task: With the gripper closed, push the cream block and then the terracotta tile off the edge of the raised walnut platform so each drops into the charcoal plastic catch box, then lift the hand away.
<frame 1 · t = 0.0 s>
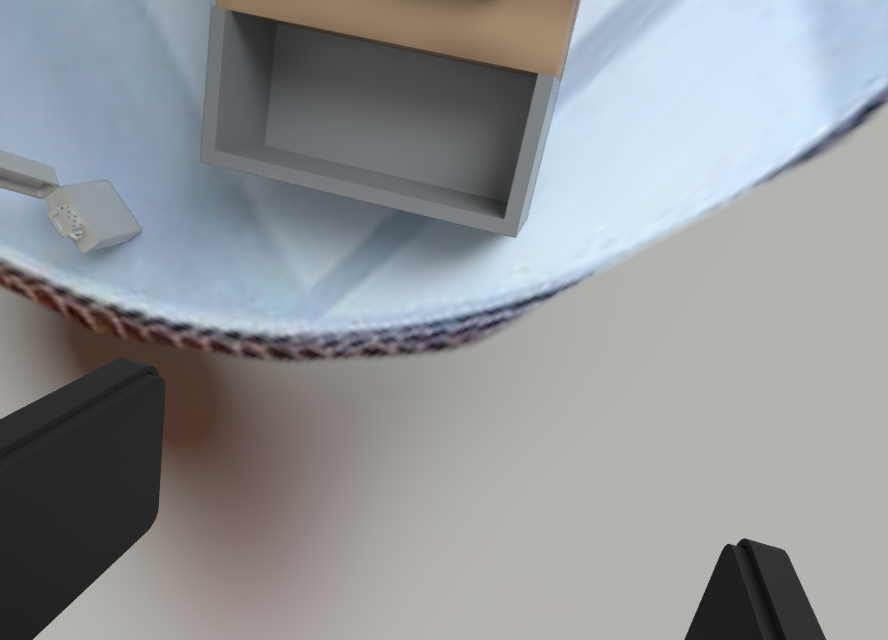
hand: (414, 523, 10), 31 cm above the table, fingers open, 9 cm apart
lighter: (106, 192, 45), on the table
catch box: (398, 121, 40), on the table
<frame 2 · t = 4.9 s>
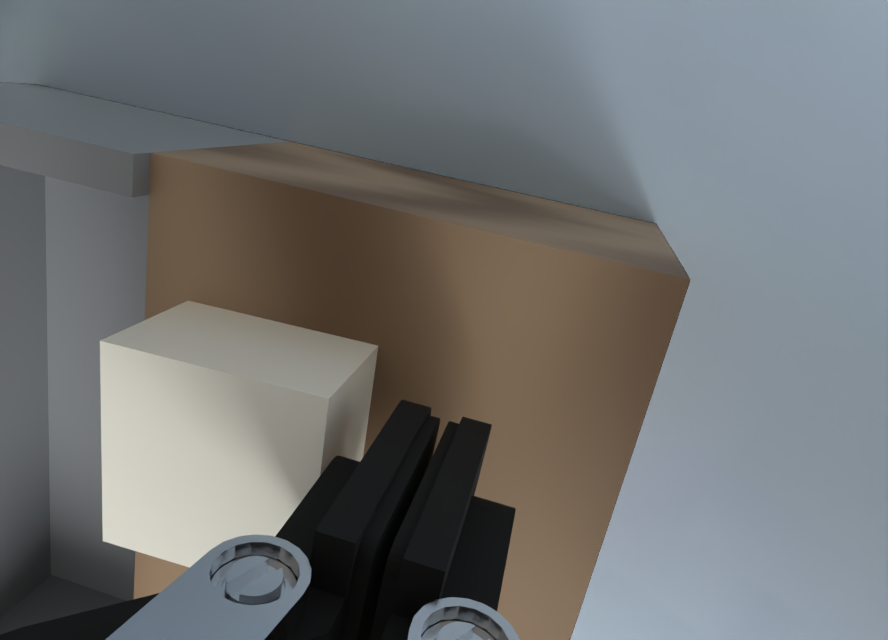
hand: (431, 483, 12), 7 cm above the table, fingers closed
bench plate: (407, 470, 20), on the table
catch box: (147, 394, 21), on the table
cream block: (273, 413, 13), point 6 cm above the table, touching bench plate, gripper
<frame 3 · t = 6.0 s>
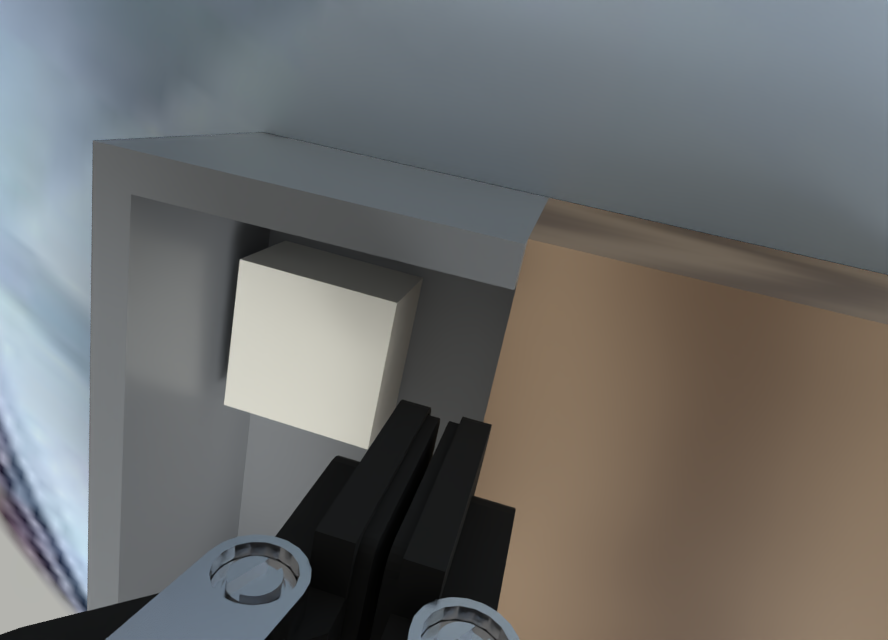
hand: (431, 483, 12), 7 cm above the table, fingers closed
bench plate: (640, 539, 19), on the table
catch box: (352, 453, 20), on the table
cream block: (305, 356, 16), point 3 cm above the table, tilted 180°, touching catch box
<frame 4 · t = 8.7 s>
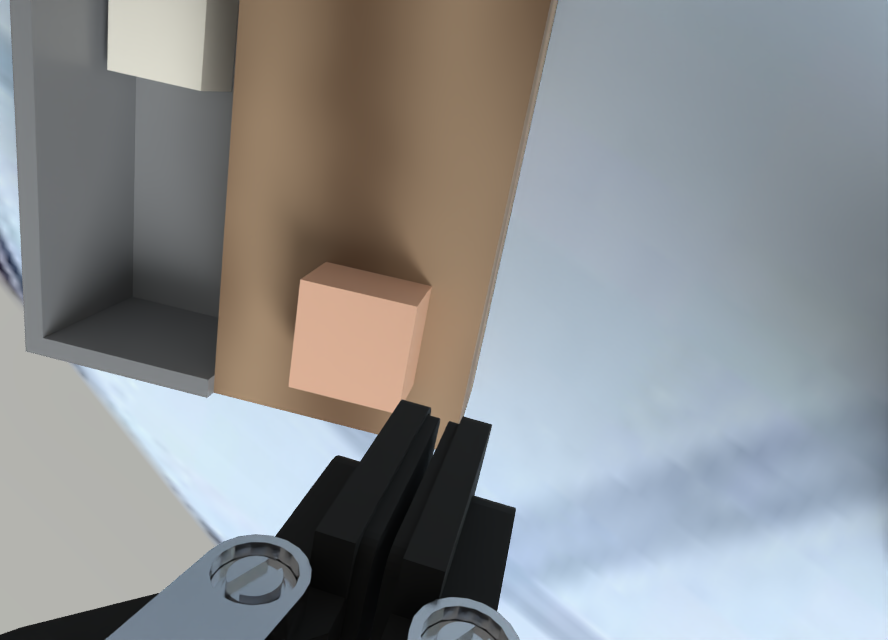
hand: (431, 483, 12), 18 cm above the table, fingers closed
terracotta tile: (370, 324, 24), point 6 cm above the table, touching bench plate
bench plate: (400, 180, 28), on the table
catch box: (208, 139, 29), on the table
cream block: (155, 26, 25), point 3 cm above the table, tilted 180°, touching catch box
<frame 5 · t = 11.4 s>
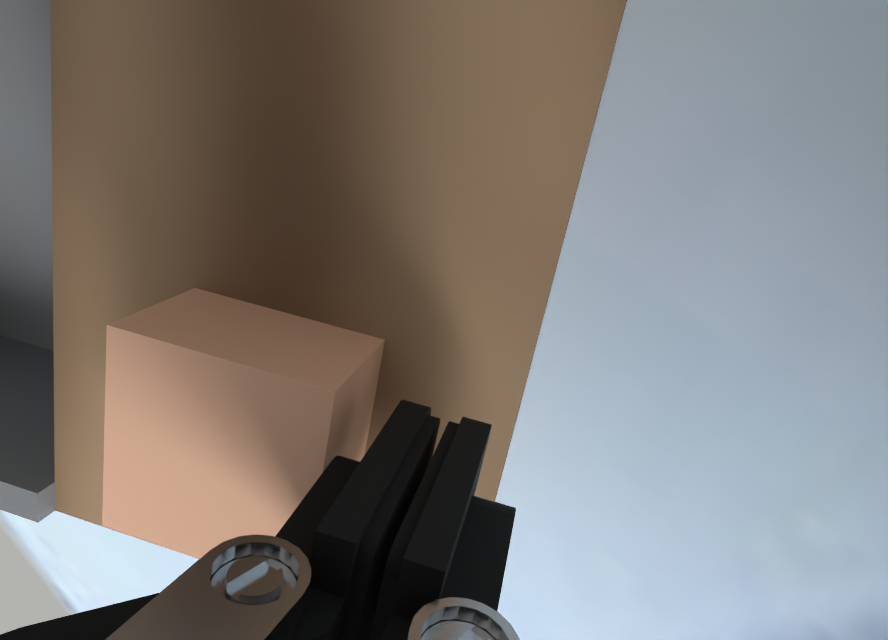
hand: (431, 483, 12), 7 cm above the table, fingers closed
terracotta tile: (276, 403, 13), point 6 cm above the table, touching bench plate, gripper
bench plate: (388, 161, 17), on the table
catch box: (93, 93, 19), on the table
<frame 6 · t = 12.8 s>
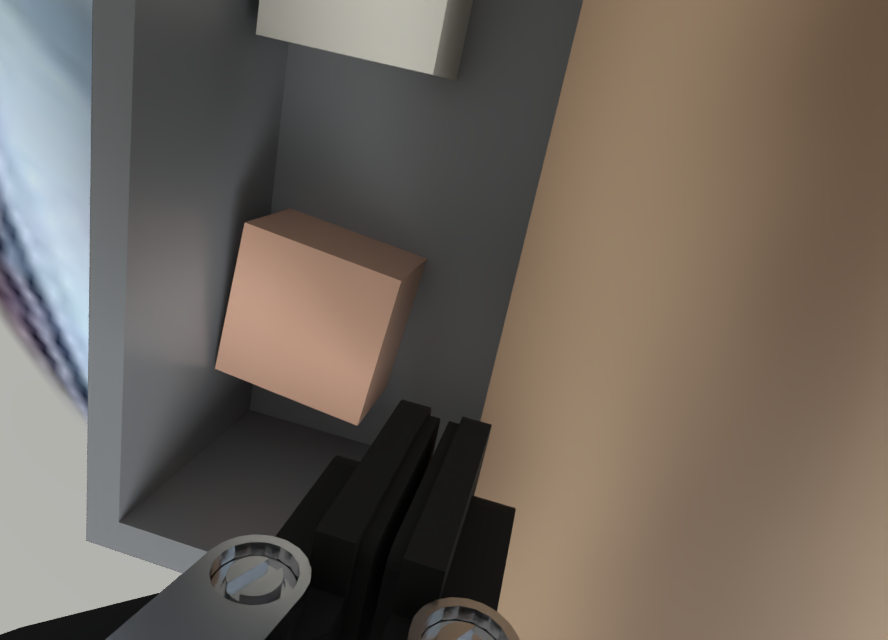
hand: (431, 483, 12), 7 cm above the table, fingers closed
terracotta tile: (302, 327, 16), point 3 cm above the table, tilted 180°, touching catch box
bench plate: (746, 241, 16), on the table
catch box: (400, 162, 17), on the table
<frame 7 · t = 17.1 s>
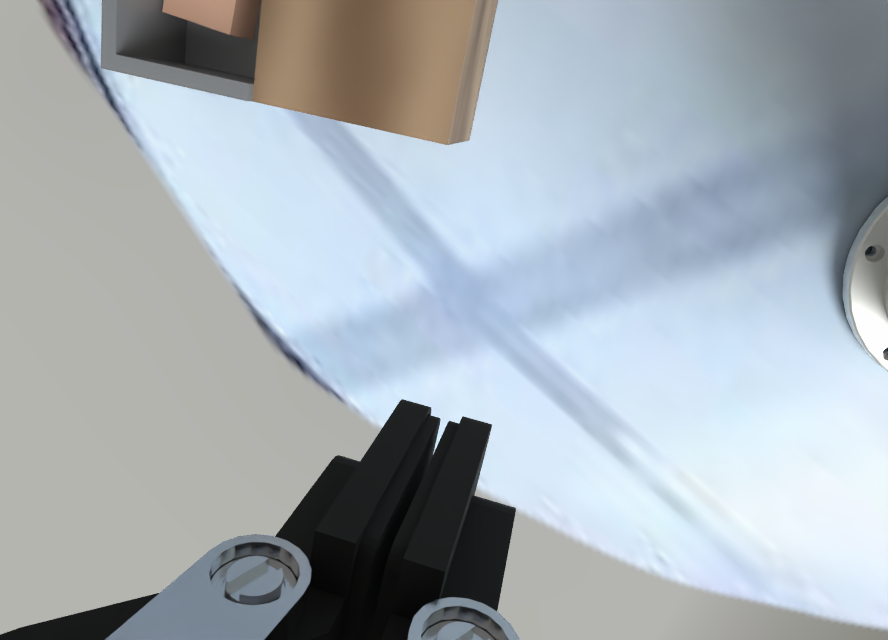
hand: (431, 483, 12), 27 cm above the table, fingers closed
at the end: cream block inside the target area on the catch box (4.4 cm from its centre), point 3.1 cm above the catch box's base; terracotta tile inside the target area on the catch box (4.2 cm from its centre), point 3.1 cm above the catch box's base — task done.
